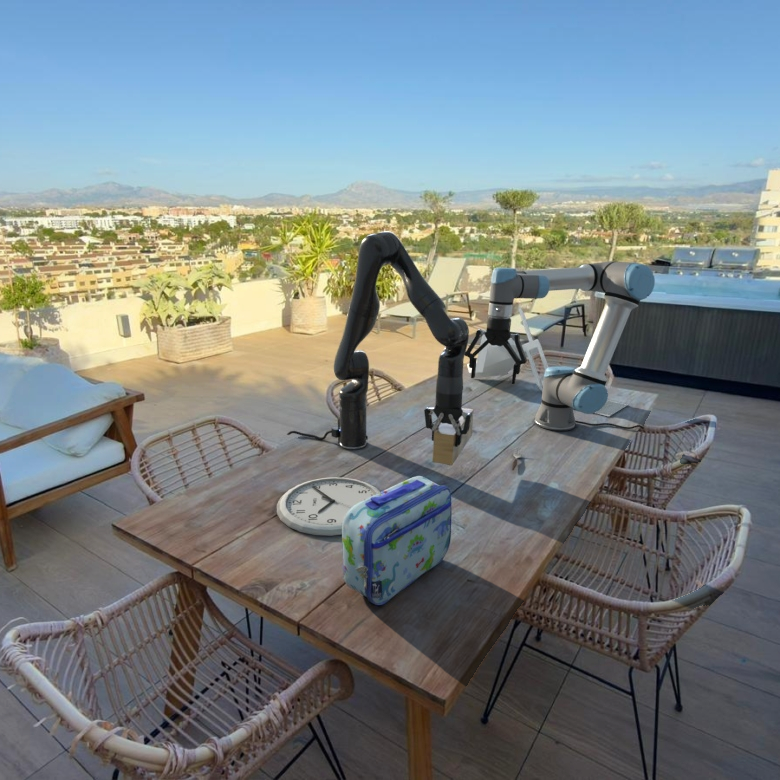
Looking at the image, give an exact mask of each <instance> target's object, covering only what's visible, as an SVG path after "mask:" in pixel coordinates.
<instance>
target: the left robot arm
mask: <svg viewBox="0 0 780 780" xmlns="http://www.w3.org/2000/svg"><path fill="white" fill-rule="evenodd" d="M388 265H389V266H391V267H392V268H393V269H394V270H395V271H396V273H398V275H399V276H400V278H401V280H402V282H403V285H404V289H405V293H406V296H407V298H408V300H409V301H410V304H411V305H412V306H413V308H414V309H415V310H416V311H417V312H418V313H419V315H421V317H422V318H423V319H424V320H425V322H426V325H427V327H428V328H429V330H430V333H431V334H432V336H433V338H434V339H435V340H436V341H437V342H438V343H439V344H440V345H442V346H444V347H443V351H442V352H441V353H440V355H439V356H438V363H437V376H436V383H435V385H436V386H435V403H434V404H435V405H434V407H431V406H427V407H426V408H424V410H423V414H424V421H425V428H426V429H429V430H431V441H432V442H434V432H435V431H436V429H437V428H438V427H439V426H440V425H441V424H442V423H448V424H451V425H452V426H453V428H454V429H455V431H456V440H455V447H458V446H459V445H460V444H461V439H462V434H467V432H468V431H469V427H470V423H471V418H472V413H465V412H463V410H462V408H463V390H464V359H465V352H466V351H467V349H468V344H469V339H470V328H469V325H468V323H467V322H466V320H464V319H463V318H460V317H453V318H450V317H449V316H448V314H447V312H446V309H447V306H446V303H445V301H443V299H442V298H441V297H440V296H439V295H438V294H437V292H436V291H435V290H434V289H433V288H432V287H431V286H430V284H429V283H428V282H427V280H426V279H425V277H424V276H423V275H422V273H421V271H420V270H419V269H418V267H417V265H416V264H415V262H414V260H413V259H412V258H411V255H410V254H409V252H408V251H407V249H406V248H405V246H404V244H403V243H402V241H401V239H399V237H398V236H397V235H396V234H395V233H393V232H392V231H388V230H387V231H385V230H384V231H380V232H377V233H372V234H369V235H367V236H365V237H364V238H363V239H362V241H361V243H360V245H359V249H358V255H357V265H356V271H355V279H354V284H353V287H352V293H351V297H350V301H349V305H348V309H347V314H346V319H345V324H344V329H343V332H342V335H341V339H340V342H339V345H338V347H337V350H336V353H335V356H334V359H333V360H334V361H333V372H334V376H335V378H337V379H338V380H340V381H349V383H347V384H346V385H344V386H343V387H341V388H340V390H339V393H338V396H339V397H338V399H339V416H338V417H337V426H334V427H331V429H330V430H327V431H325V433H324V435H323V436H321V437H320V436H317V435H314V434H310V433H306V432H300V431H297V430H290V431H288V432H287V433H286V436H290V435H291V434H292V435H293V434H294V435H295V434H296V435H299V436H303V437H308V438H313V439H316V440H319V441H324V440H325V439H326V438H327V436H328V435H329V434H331V437H332V438H335V439H337V444H339V446H340V447H341V448H342V449H345V450H361V449H364V448H365V447H366V446H367V444H368V443H367V441H368V439H369V438H368V435H367V394H368V391H369V378H370V377H369V376H370V362H369V357H368V355H367V352H365V351H363V350H356V349H357V347H358V346H359V345H360V344H361V343H362V342H363V341H364V340H365V339H366V337H368V336H369V334H370V333H372V331H373V329H374V328H375V326H376V324H377V320H378V316H379V313H380V308H381V303H380V297H379V295H378V292H377V281H378V277H379V274H380V273H381V272H380V271H381V269H382V268H383V267H385V266H388ZM433 414H434V415H435V416H436V418H437V419H436V420H435V422H434V423H433V418H432V415H433ZM461 416H463V419H464V421H465V424H464V428H463V429H462V428H461V425H460V421H459V418H460V417H461Z"/></svg>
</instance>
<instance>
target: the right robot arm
mask: <svg viewBox="0 0 780 780" xmlns="http://www.w3.org/2000/svg"><path fill="white" fill-rule="evenodd" d="M655 279H656V278H655V275H654V272H653V270H652V268H651V267H650V266H648V265H646V264H644V263H639V262H635V261H634V262H629V261H618V260H609V261H602V262H601V261H599V262H593V263H584V264H581V266H579V267H564V268H548V269H530V270H528V269H527V270H517V268H513V267H495V268H493V270H492V274H491V280H490V291H489V302H488V309H487V310H488V312H487V315H488V317H487V320H486V330H482V329H481V328H479V329H477V330H476V332H475V336H474V338H473V340H472V341H471V343H470V345H468V347H467V348H466V352H465V355H464V357H467V358H468V359H469V362H468V364H469V368H472V372H471V375H470V379H475V378H474V377H475V371H476V361H477V358H478V357H476V356H478V353H479V352H480V351H481V350H482V349H483V348H484V347H485V346H487V345H488V344H489V343H490V344H491V345H497V346H504V347H505V348H506V349H507V351H508V352H509V354H510V355H511V357H512V358H513V360H514V361H515V364H514V368H513V369H512V377H511V385H515V384H516V379H517V375H519V374H520V372H521V366H522V365H525V364H526V363H527V362H528V358H527V357H526V356H525V353H524V351H523V348H522V345H523V344H522V343H521V338H520V337H521V336H520V333H519V332H518V333H511V326H512V318H511V317H512V316H513V309H514V300H515V299H529V300H530V299H531V300H532V299H533V300H537V299H544V298H546V297H547V296H548V294H549V292H551V291H567V290H568V291H569V290H577V289H578V290H580V291H582V292H596V293H603V294H604V295H603V298H604V301H605V304H604V307H603V309H602V312H601V314H600V317H599V320H598V322H597V324H596V327H595V329H594V332H593V334H592V337H591V340H590V342H589V344H588V347H587V350H586V352H585V354H584V357H583V359H582V362H581V364H580V366H579V367H577V368H576V367H573V366H564V365H563V366H561V365H559V366H558V365H557V366H548V367H549V368H547V369H546V370H545V369H544V375H543V381H542V382H543V383H542V387H543V390H542V391H541V392H542V394H541V402H540V405H539V407H538V410H537V411H536V413H535V417H534V424H535V425H536V426H537V427H539V428H542V429H544V430H549V431H556V432H567V431H572V430H574V429H575V428H576V423H577V424H582V425H585V426H592V427H596V426H597V427H598V426H612V427H615V428H619V429H624V430H633V429H635V428H640V429H641V430H642V429H643V430H645V427H644V426H642V425H640V424H636V425H633V426H622V425H618V424H616V423H610V422H602V423H589V422H585V421H579V420H576V418H575V417H576V416H575V413H574V410H575V411H576V412H580V413H582V414H586V415H591V414H596V413H595V412H596V411H599V410H600V409H601V408H602V407H603V406H604V405H605V403H606V401H607V400H609V391H608V389H607V388H606V384H607V382H608V379H607V377H606V372H607V370H608V367H609V365H610V363H611V361H612V358H613V356H614V352H615V351H616V348H617V346H618V343H619V342H620V339H621V336H622V334H623V331H624V329H625V326H626V324H627V321H628V320H629V317H630V314H631V312H632V310H634V309H636V308H638V307H639V305H640V302H641V301H643V300H645V299H647V298H648V297H650V295H652V293H653V291H654V288H655V283H656V280H655ZM483 335H485V337H486V338H487V340H486V341H485V342H484V343H483V344H482V345H481V346H480V345H479V347H477V349H475V350H474V348H475V346H476V345H477V343H478V342H479V340H480V338H482V336H483ZM510 339H513V341H515V344H516V347H517V350H518V352H519V355H520V358H521V360H520V359H519V357H518V356H517V354H516V353H515V351H514V350H513V348H512V347H511V345H510V343H509V342H508V340H510ZM473 350H474V352H473V353H471V352H472V351H473ZM526 358H527V359H526Z"/></svg>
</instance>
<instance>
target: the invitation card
mask: <svg viewBox="0 0 780 780" xmlns="http://www.w3.org/2000/svg"><path fill="white" fill-rule="evenodd" d="M628 406H629V404H627V403H623V402H618V401H614V400H609V399H607V401H606V403H605V405H604V406H603V407H602V408H601V409H600V410H599V411H596V412H595V413H594V414H596V415H600V416H604V417H608V418H609V417H611V416H613V415H614V414H616V413H617V412H619V411H621V410H623V409H624V408H626V407H628Z"/></svg>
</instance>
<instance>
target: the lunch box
mask: <svg viewBox="0 0 780 780" xmlns="http://www.w3.org/2000/svg"><path fill="white" fill-rule="evenodd" d="M452 511H453V510H452V491H451V489H450V487H449V486H447V485H444V484H442V485H440V484H437V483H436V482H434V481H432V480H430V479H428V478H427V477H425V476H422V475H416V476H413V477H411V478H408V479H406V480H403V481H401V482H399V483H397V484H395V485H393V486H390V487H388V488H386V489H384V490H382V491H381V492H380V493H378V494H376V495H374V496H372V497H370V498H368V499H366V500H364V501H362V502H360V503H358V504H356V505H354V506H353V507H352V508H351V509H350V510H349V511H348V512H347V514H346V516H345V518H344V521H343V525H342V535H341V543H342V544H341V545H342V569H343V578H344V583H345V585H346V586H347V587H349V588H351V589H352V590H354V591H356V592H357V593H360V594H361V595H362V596H363V597H365V598H367V601H369V603H372V604H373V605H376V606H383V605H385V604H386V603H388V602H389V601H390V600H391V599H392V598H394V597H395V596H396V595H397V594H399V593H400V592H401V591H403V590H404V589H406V588H407V587H408V586H410V585H411V584H413V583H414V582H416V580H417V579H418V578H420V576H422V575H423V574H425V573H426V572H428V571H430V570H432V569H433V568H435V567H436V566H438V565H439V564H440V563H441V562H442V561H443V560H444V558H445V557H446V555H447V552H448V551H449V548H450V544H451V539H452V515H453V514H452Z"/></svg>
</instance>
